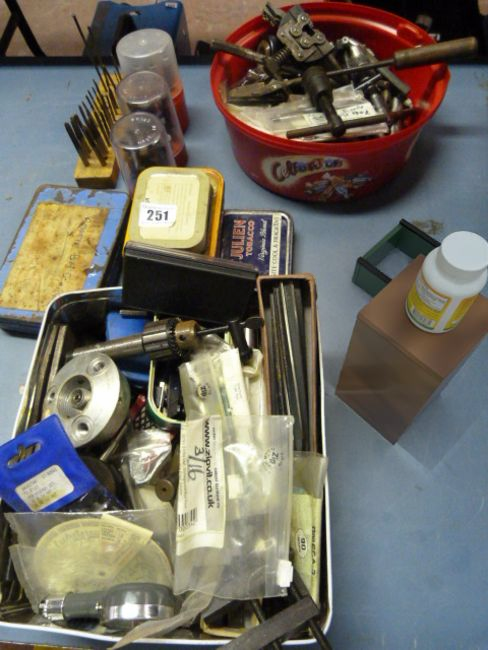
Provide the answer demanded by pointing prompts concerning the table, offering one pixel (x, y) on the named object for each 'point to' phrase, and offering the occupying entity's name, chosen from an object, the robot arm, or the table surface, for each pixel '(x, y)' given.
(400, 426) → the brown rectangular block
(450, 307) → the supplement bottle
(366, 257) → the tray
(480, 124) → the table surface
